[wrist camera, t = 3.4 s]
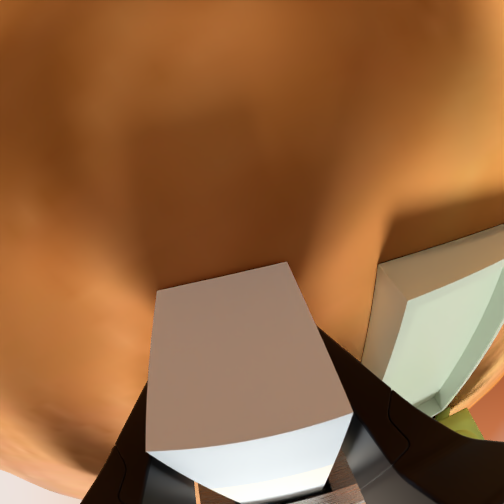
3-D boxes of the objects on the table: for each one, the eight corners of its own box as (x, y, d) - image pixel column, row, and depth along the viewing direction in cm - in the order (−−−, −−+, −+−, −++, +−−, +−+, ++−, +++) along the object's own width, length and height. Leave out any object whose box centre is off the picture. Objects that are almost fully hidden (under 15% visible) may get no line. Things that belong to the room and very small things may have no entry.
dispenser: (329, 442, 20) (351, 507, 14) (224, 466, 19) (236, 533, 14) (338, 401, 15) (375, 496, 10) (190, 434, 15) (201, 533, 9)
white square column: (300, 427, 16) (320, 493, 12) (240, 440, 16) (253, 508, 12) (286, 261, 9) (353, 412, 5) (156, 290, 8) (145, 451, 4)
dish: (434, 393, 20) (443, 410, 18) (341, 434, 19) (348, 454, 17) (513, 219, 10) (539, 239, 8) (377, 264, 10) (407, 300, 8)
